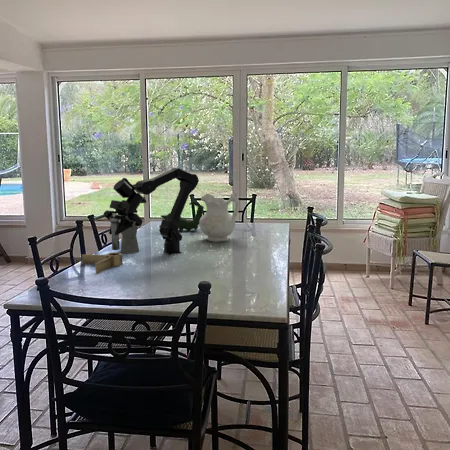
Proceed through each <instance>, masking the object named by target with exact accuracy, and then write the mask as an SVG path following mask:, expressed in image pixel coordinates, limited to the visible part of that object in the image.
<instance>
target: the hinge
mask: <svg viewBox="0 0 450 450" xmlns="http://www.w3.org/2000/svg"><path fill="white" fill-rule="evenodd" d="M81 261H82V265H95V267H94V268H95V274H99V273H102V272H104V271H106V270H108V269H110V268H111V267H120V266H122V265H124V264H123V253H122V252H116V251H115V252H108V253H107V254H84V253H83V254H81Z"/></svg>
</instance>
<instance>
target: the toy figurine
mask: <svg viewBox="0 0 450 450" xmlns="http://www.w3.org/2000/svg"><path fill="white" fill-rule="evenodd" d="M191 205H194V206H195V207H197V209H196V214H195V215H194V216H195V217H194V218H193V219H192V220H191V219H187V218H185V217H182V216H180V218H179V221H178V224H179V229H178V231H179V232H182V231H183V230H185V231H187V232H191V230H193V231H197V230H198V228H199V221H200V218H201V217H202V216H203V215H204V209H205V207H204V206H203V205H202V204H200V203H199V201H195V200H192V201H191V202H189V206H191ZM170 213H171V212H169V213H168V214H166V215H165V214H164V215H160V217H161V218H162V219H164V220H166V219H167V218H168V217H169V215H170Z"/></svg>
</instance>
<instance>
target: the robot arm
mask: <svg viewBox="0 0 450 450" xmlns="http://www.w3.org/2000/svg"><path fill="white" fill-rule="evenodd" d="M175 179H176V180H177V181H179V191H178V193H177V196H176V199H175V201H174V203H173V206H172V208H171V210H170V212H169V213H170V215H169V217H168V218H167V219H166V220H165V219H164V218H162V220H161V223H160V225H159V230H158V232H159V234H160V235H161V238H162V240H164V243H163V253H164V254H167V255H171V256H172V255H177V254H182V251H181V248H180V247H181V246H180V245H181V241H182V240H183V235H182V234H181V233H180V231H179V224H178V221H179V218H180V216H181V215H182V213H183V211H184V209H185V206H186V204H187V201H188V199H189V196H190V194H191V193H192V192H193V191H194V190H195V189H196V187H197V186H198V184H199V181H200V179H199V177H198V175H197V174H196V173H190V172H187V171H185V170H183V169H182V168H180V167H179V168H178V167H173V168H171V169H170V170H168V171H165V172H163V173H161V174H159V175H157V176H154V177H151V178H146V179H143V180H139V181H138V180H137V182H135V183H134V184H132V183H131V182H130V181H129V179H127V177H123V178H122V179H120V180H118V181H117V182H115V184H114V185H113V190H114V191H115V192H116V193H117V194H118V195H120V197H121V198H123V199H121V201H120V200H116V199H115V200H114V199H112V200H111V201H110V203H109V208H110V209H113V210H108V209H107V210H105V211H104V213H103V216H104V217H105V218H106V219H107V220H108V221H109V222H110V218H119V221H120V220H121V222H120V223H119V221H118V225H119V226H118V228H117V230H116V232H115V235H118V234H119V235H120V234H121V232H123V231H125V230H126V229H128V228H130V227H133V225H132V224H133V223H134V222H136V223H135V225H136V226H138V227H141V226H142V224H143V223H144V222H143V218H141V217H140V216H139V214H138V212H139V211H138V210H137V209H138V208H139V206H140V204H146V203H147V200H146V196H147V195H151V193H153V192H154V191H155V190H157V188H159V187H160V186H162V185H165V184H166V183H169V182H170V181H172V180H175ZM143 195H146V196H143ZM125 198H126V199H125ZM114 210H115V211H114ZM115 212H116V213H115ZM181 217H182V216H181ZM108 234H109V235H111V236H112V234H111V225H110V227H109V232H108Z"/></svg>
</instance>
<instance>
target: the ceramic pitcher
mask: <svg viewBox="0 0 450 450" xmlns="http://www.w3.org/2000/svg"><path fill="white" fill-rule="evenodd" d="M200 200H201V201H202V202H203V203H205V207H206V212H205V213H203V214H202V217H201V218H200V221H199V225H198V227H199V229H200V231H201V233H202V234H203V235H204V236H207V238H206V240H207V241H208V242H215V243H218V242H228V241H229V238H228V236H230V235H231V234H232V233H233V232H234V231H235V228H236V217H237V216H238V213H239V211H240V200H239V198H238V195H237V194H236V193H232V194H230V197H229V199H228V200H227V199H226V200H225V199H224V198H223V197H215V195H213V194H210V193H206V194H203V195H202V196H201V197H200ZM232 202H234V203H235V208H234V210H233V213H232V214H230V213H229V205H230V203H232Z"/></svg>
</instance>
